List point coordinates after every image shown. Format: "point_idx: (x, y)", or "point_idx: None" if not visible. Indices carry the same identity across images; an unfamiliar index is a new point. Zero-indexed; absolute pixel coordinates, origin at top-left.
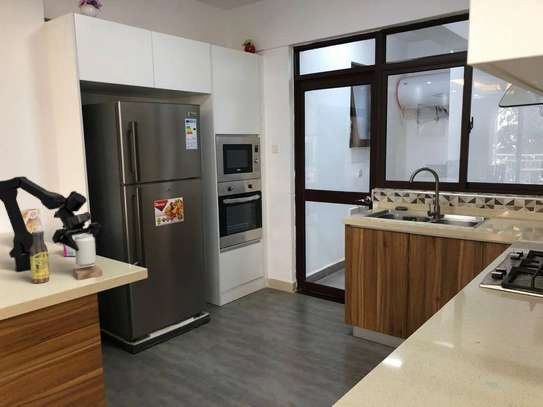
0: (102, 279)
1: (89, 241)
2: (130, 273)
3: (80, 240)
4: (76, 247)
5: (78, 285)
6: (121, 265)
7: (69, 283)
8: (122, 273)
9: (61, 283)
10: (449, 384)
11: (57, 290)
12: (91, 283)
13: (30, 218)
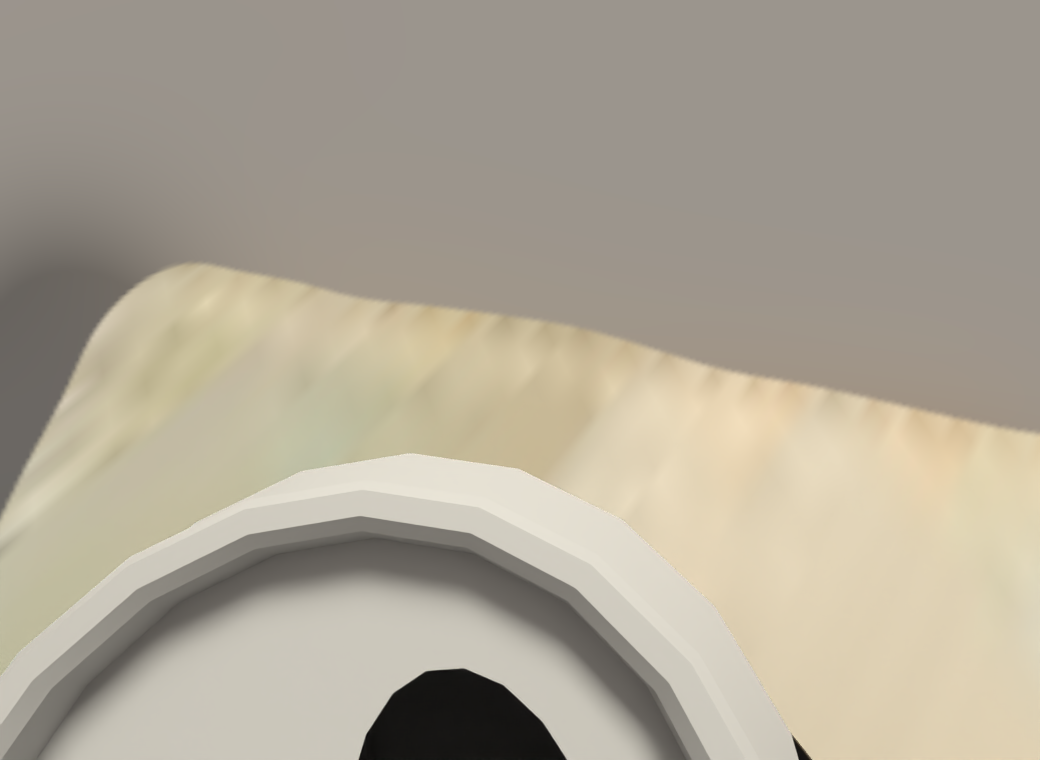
0: (544, 386)
1: (476, 468)
2: (284, 293)
3: (735, 688)
4: (802, 748)
5: (801, 447)
6: (5, 648)
7: (822, 613)
8: (306, 364)
9: (882, 718)
10: None
11: (1029, 509)
12: (687, 379)
13: None
